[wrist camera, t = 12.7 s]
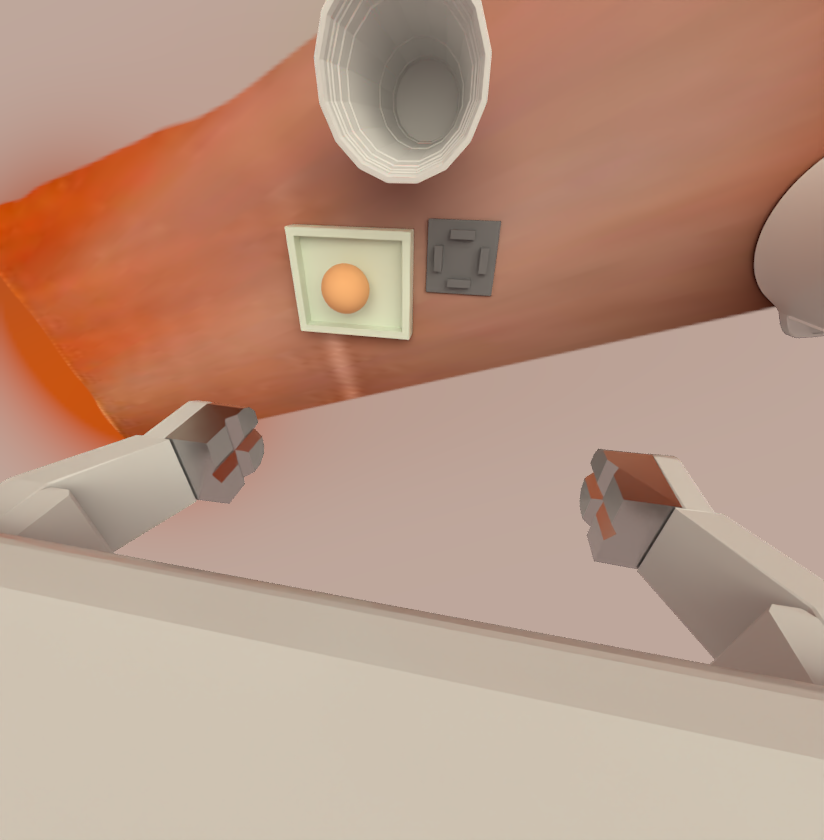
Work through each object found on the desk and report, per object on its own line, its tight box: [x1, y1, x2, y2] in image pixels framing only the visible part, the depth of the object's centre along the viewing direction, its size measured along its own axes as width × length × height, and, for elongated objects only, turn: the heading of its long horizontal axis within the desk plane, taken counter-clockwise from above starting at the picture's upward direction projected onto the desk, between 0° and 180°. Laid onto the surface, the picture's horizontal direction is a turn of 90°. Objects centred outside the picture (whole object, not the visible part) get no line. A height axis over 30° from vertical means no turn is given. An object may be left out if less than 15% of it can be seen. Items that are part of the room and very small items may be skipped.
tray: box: [285, 224, 414, 340], centre depth 40 cm, size 13×11×2 cm
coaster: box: [426, 219, 501, 296], centre depth 38 cm, size 7×7×1 cm
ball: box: [321, 263, 370, 314], centre depth 39 cm, size 5×5×5 cm
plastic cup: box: [314, 0, 492, 184], centre depth 27 cm, size 11×11×12 cm
